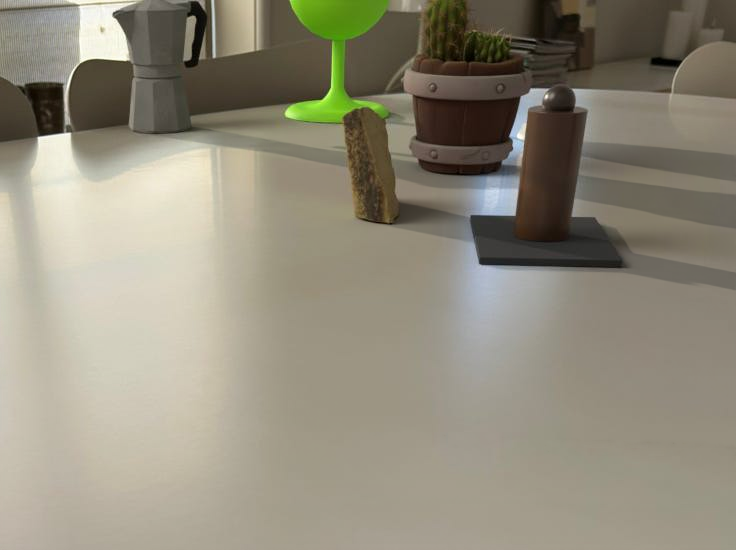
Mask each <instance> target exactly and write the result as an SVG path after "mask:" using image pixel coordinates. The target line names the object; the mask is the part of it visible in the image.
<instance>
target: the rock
mask: <svg viewBox="0 0 736 550" xmlns="http://www.w3.org/2000/svg"><path fill="white" fill-rule="evenodd" d="M341 124H342V129H343V136H344V145H345V151H346V156H347V162H348V172H349V176H350V178H349V179H350V180H349V181H350V188H351V199H352V207H353V214H354V216H355V217H356V218H359V219H363V220H368V221H370V222H376V223H385V224H389V225H390V223H392V224H394V223H395V220H394V219H395V218H397V217H398V216H399V215H400V210H399V199H398V197H397V194H396V184H397V182H396V174H395V169H394V168H393V161H392V154H391V153H390V150H389V134H388V129H387V122H386V120H385V118H383V119H382V118H381V117H380V116H379V115H378V114H377V113H375V112H374V111H373V110H372V109H371V108H369V107H362V108H361V109H358V108H356V109H354V110H352V111H351V112H348V113H347V114H345V115H344V116H343V117H342V123H341Z"/></svg>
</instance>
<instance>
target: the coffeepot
mask: <svg viewBox="0 0 736 550" xmlns="http://www.w3.org/2000/svg"><path fill="white" fill-rule="evenodd" d="M111 16H112V18H113V19H115V20H116V22H117V23H118V24H119V26H120V28H121V30H122V32H123V33H124V35H125V41H126V46H127V51H128V57H129V61H130V63H131V64H132V68H133V76H134V77H133V79H131V80H132V81H131V92H130V103H129V104H130V107H129V118H128V127H129V129H130V130H131V131H132V132H136V133H142V134H173V133H181V132H185V131H188V130H190V129H191V128H192V127H193V125H192V119H191V115H190V108H189V103H188V98H187V94H186V87H185V83H184V79H183V77H182V76H181V75H182V69H181V63H183V65H184V67H185V68H186V69H193V68H196V67H197V66H198V64H199V62H200V61H199V60H200V56H201V51H202V47H203V42H204V38H205V37H204V36H205V32H206V28H207V24H208V14H207V12H206V10H205V9H204V8H203V6H202V4H201V3H200V1H198V0H188V1H184V2H183V1H181V2H175V3H174V2H170V1H168V0H140V1H137V2H135V3H132V4H129V5H125V6H123V7H120V8H119V9H116V10H115V11H113V12H112V14H111ZM190 17H194V18H195V24H194V29H193V31H194V32H193V40H192V43H191V57H190V59H188V60H184V55H185V45H186V44H185V43H186V35H187V34H186V33H187V22H188V18H190Z"/></svg>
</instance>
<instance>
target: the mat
mask: <svg viewBox="0 0 736 550" xmlns="http://www.w3.org/2000/svg"><path fill="white" fill-rule="evenodd" d="M469 217H470V218H469V222H470V227H471V233H472V237H473V242H474V246H475V252H476V256H477V260H478V261H477V262H478V265H495V266H497V265H502V266H503V265H504V266H540V267H541V266H545V267H586V268H587V267H590V268H622V265H623V258H622V257H621V256H620V254H619V253H618V250H616V248H615V246H614V245H613V244H612V242H611V240H610V239H609V237H608V236H607V234H606V232H605V231H604V229H603V227H602V226H601V224H600V223H599V221H598V220H597V217H595V216H572V218H571V225H570V231H569V237H568V238H567V239H565V240H562V241H557V242H534V241H527V240H522V239H519V238H517V237H515V236H514V235H513V230H514V222H515V215H500V214H499V215H497V214H496V215H495V214H494V215H493V214H491V215H490V214H470V216H469Z"/></svg>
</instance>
